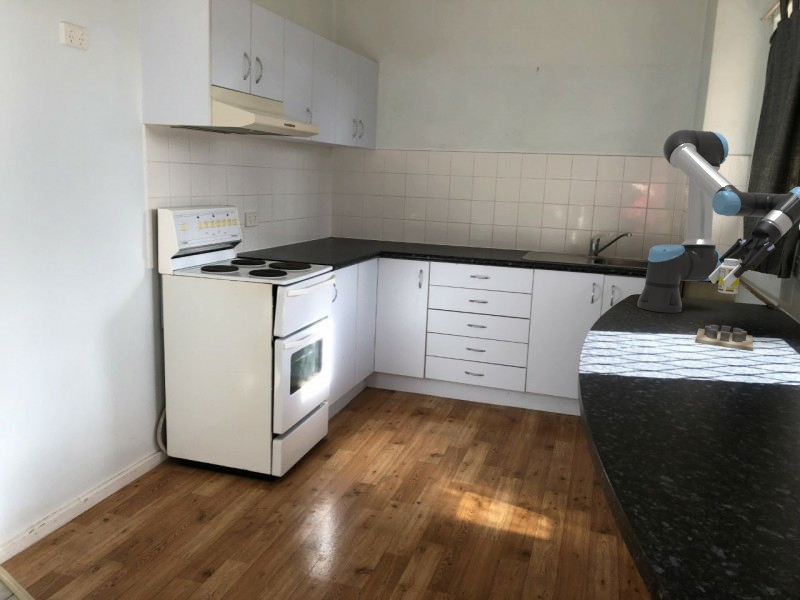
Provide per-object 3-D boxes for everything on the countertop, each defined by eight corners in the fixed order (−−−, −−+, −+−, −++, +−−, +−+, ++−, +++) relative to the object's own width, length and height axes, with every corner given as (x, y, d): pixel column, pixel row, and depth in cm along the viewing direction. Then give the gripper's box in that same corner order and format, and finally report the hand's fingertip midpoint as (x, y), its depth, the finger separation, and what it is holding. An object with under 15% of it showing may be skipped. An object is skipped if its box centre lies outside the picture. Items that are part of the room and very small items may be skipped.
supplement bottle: (740, 293, 203) (745, 260, 201) (732, 294, 199) (737, 260, 197) (722, 290, 207) (726, 257, 205) (714, 292, 203) (718, 258, 202)
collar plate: (695, 342, 194) (696, 330, 194) (698, 331, 209) (699, 320, 209) (752, 350, 188) (754, 338, 187) (751, 339, 203) (753, 327, 202)
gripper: (801, 240, 195) (747, 295, 194) (754, 235, 213) (703, 285, 212) (789, 221, 193) (734, 277, 192) (742, 218, 211) (691, 269, 209)
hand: (718, 281), depth 202 cm, fingers closed on supplement bottle, 5 cm apart
